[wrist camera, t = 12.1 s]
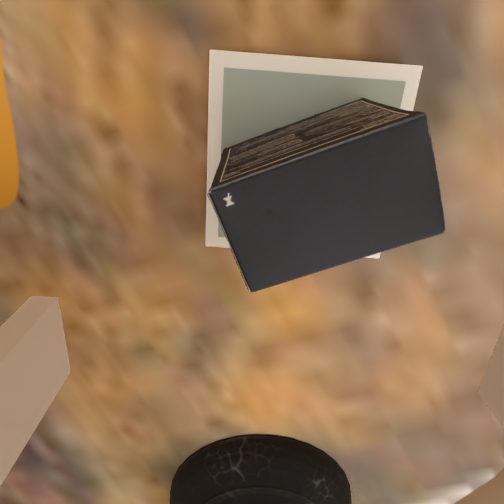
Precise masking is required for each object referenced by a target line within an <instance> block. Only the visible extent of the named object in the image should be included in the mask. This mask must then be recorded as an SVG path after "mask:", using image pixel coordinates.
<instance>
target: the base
mask: <svg viewBox="0 0 504 504" xmlns="http://www.w3.org/2000/svg"><path fill="white" fill-rule="evenodd" d="M422 68H423V66H418V65H405V64H392V63H379V62H366V61H353V60H340V59H327V58H314V57H301V56H288V55H275V54H262V53H249V52H236V51H223V50H210V54H209V101H208V147H207V193H208V190H209V189H210V187H211V185H212V182H213V179H214V176H215V173H216V171H217V168H218V166H219V163H220V160H221V154H222V152H223V149H225V148H228V147H231V146H233V145H236V144H239V143H241V142H244V141H246V140H249V139H251V138H254V137H256V136H260V135H262V134H265V133H268V132H269V131H273V130H275V129H277V128H281V127H284V126H287V125H290V124H292V123H295V122H298V121H301V120H303V119H306V118H308V117H312V116H314V115H315V114H320V113H323V112H325V111H328V110H330V109H333V108H336V107H339V106H341V105H344V104H347V103H350V102H353V101H356V100H358V99H361V98H366V99H369V100H371V101H374V102H378V103H381V104H385V105H388V106H392V107H396V108H399V109H403V110H407V111H413V108H414V104H415V99H416V95H417V90H418V86H419V82H420V77H421V73H422ZM205 246H210V247H224V248H230V246H229V243H228V241H227V239H226V237H225V235H224V232H223V230H222V227H221V225H220V222H219V220H218V218H217V215H216V213H215V211H214V209H213V206H212V204H211V202H210V200H209V198H208V196H207V194H206V240H205ZM380 253H381V252H380ZM380 253H377V254H374V255H371V256H367V257H366V258H379V257H380Z"/></svg>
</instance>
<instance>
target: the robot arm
mask: <svg viewBox="0 0 504 504" xmlns="http://www.w3.org/2000/svg"><path fill="white" fill-rule="evenodd" d="M70 372H71V370H70V364H69V358H68V352H67V346H66V340H65V334H64V328H63V322H62V316H61V310H60V304H59V298H58V297H49V296H31V297H30V298H29V299H28V300H27V301H26V302H25V303H24V304H23V305H21V306H20V307H19V308H18V309H17V310H16V311H15V312H14V313H13V314H12V315H11V316H10V317H9V318H8V319H7V320H6V321H5V322H4V323H3V324H2V325H1V326H0V486H1V484H2V483H3V481H4V480H5V478H6V476H7V475H8V473H9V471H10V470H11V468H12V467H13V465H14V463H15V462H16V460H17V458H18V457H19V455H20V454H21V452H22V450H23V449H24V447H25V445H26V444H27V442H28V441H29V439H30V437H31V436H32V434H33V432H34V431H35V429H36V428H37V426H38V424H39V423H40V421H41V419H42V418H43V416H44V415H45V413H46V411H47V410H48V408H49V406H50V405H51V403H52V402H53V400H54V398H55V397H56V395H57V393H58V392H59V390H60V389H61V387H62V385H63V384H64V382H65V380H66V379H67V377H68V376H69V374H70ZM477 392H478V393H479V395H480V396H481V397H482V399H483V400H484V402H485V403H486V404H487V406H488V407H489V409H490V410H491V411H492V413H493V414H494V416H495V417H496V418H497V420H498V421H499V423H500V424H501V425H502V427H503V428H504V325H503V328H502V330H501V333H500V335H499V338H498V340H497V343H496V345H495V348H494V350H493V353H492V356H491V358H490V361H489V363H488V366H487V368H486V371H485V373H484V376H483V378H482V381H481V384H480V386H479V389H478V391H477Z"/></svg>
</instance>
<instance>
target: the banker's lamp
mask: <svg viewBox="0 0 504 504" xmlns="http://www.w3.org/2000/svg"><path fill="white" fill-rule="evenodd" d="M170 504H351V492H350V485H349V482H348V480H347V478H346V475H345V473H344V472H343V471H342V469H341V468H340V467H339V466H338V464H337V463H336V462H335V461H333V460H332V459H331V458H330V457H328V456H327V455H326V454H325V453H323V452H321V451H319V450H317V449H316V448H314V447H312V446H310V445H307V444H304V443H301V442H298V441H295V440H292V439H287V438H281V437H275V436H245V437H236V438H231V439H228V440H224V441H220V442H216V443H214V444H212V445H210V446H207V447H205V448H203V449H201V450H199V451H198V452H197V453H195V454H194V455H192V456H191V457H189V458H188V459H187V460H186V461H185V462H184V463H183V464H182V466H181V467H180V468H179V469H178V471H177V473H176V475H175V477H174V478H173V481H172V486H171V491H170Z"/></svg>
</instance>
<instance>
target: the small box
mask: <svg viewBox="0 0 504 504" xmlns="http://www.w3.org/2000/svg"><path fill="white" fill-rule="evenodd" d="M207 196H208V198H209V200H210V202H211V204H212V206H213V209H214V211H215V213H216V215H217V218H218V220H219V222H220V225H221V227H222V230H223V232H224V235H225V237H226V239H227V241H228V243H229V246H230V248H231V251H232V253H233V255H234V258H235V260H236V263H237V265H238V267H239V269H240V272H241V274H242V277H243V279H244V281H245V284H246V286H247V288H248V290H249V291H250V292H255V291H258V290H261V289H265V288H268V287H271V286H274V285H278V284H281V283H284V282H287V281H290V280H293V279H297V278H300V277H303V276H306V275H309V274H313V273H316V272H319V271H322V270H325V269H329V268H332V267H335V266H338V265H341V264H344V263H348V262H351V261H354V260H358V259H361V258H364V257H367V256H371V255H374V254H377V253H380V252H383V251H387V250H390V249H393V248H396V247H400V246H403V245H406V244H410V243H413V242H416V241H419V240H422V239H426V238H429V237H433V236H436V235H439V234H442V233H444V232H445V222H444V213H443V207H442V201H441V194H440V189H439V181H438V176H437V171H436V164H435V158H434V152H433V147H432V140H431V135H430V129H429V123H428V118H427V115H426V113H423V112H418V111H416V112H414V111H407V110H403V109H399V108H396V107H392V106H388V105H385V104H381V103H378V102H374V101H371V100H369V99H366V98H361V99H358V100H356V101H353V102H350V103H347V104H344V105H341V106H339V107H336V108H333V109H330V110H328V111H325V112H323V113H320V114H315V115H314V116H312V117H308V118H306V119H303V120H301V121H298V122H295V123H292V124H290V125H287V126H284V127H281V128H277V129H275V130H273V131H269V132H268V133H265V134H262V135H260V136H256V137H254V138H251V139H249V140H246V141H244V142H241V143H239V144H236V145H233V146H231V147H228V148H225V149H223V152H222V154H221V160H220V163H219V166H218V168H217V171H216V173H215V176H214V179H213V182H212V185H211V187H210V189H209V190H208V193H207Z"/></svg>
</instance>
